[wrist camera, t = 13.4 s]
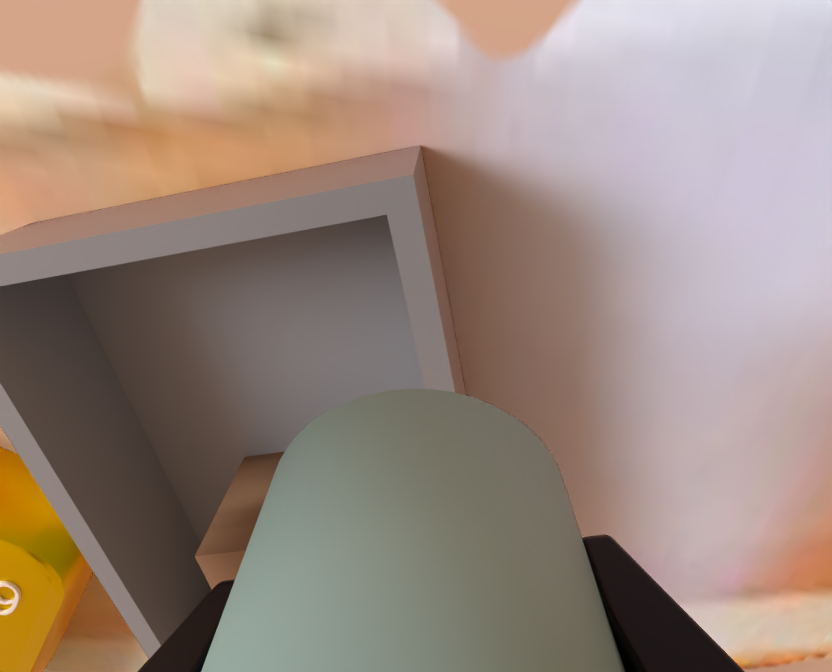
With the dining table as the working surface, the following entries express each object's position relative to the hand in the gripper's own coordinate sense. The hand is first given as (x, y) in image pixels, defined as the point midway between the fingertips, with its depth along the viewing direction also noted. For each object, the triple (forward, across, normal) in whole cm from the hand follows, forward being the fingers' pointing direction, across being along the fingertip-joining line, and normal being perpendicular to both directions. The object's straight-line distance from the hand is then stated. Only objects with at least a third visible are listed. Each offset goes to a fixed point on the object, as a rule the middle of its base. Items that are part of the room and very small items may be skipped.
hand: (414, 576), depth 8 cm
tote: (+12, +6, +4) cm, 14 cm away
